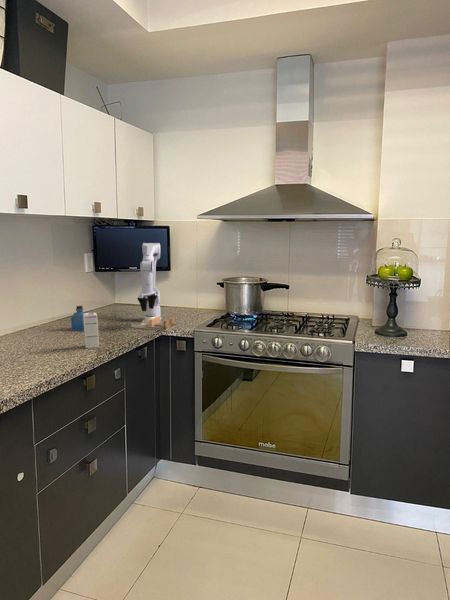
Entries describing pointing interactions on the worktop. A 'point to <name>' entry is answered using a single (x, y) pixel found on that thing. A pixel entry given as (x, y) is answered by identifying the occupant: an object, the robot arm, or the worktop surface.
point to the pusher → (156, 322)
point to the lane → (167, 325)
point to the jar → (148, 317)
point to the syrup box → (91, 330)
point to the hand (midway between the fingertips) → (147, 309)
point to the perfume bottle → (78, 319)
